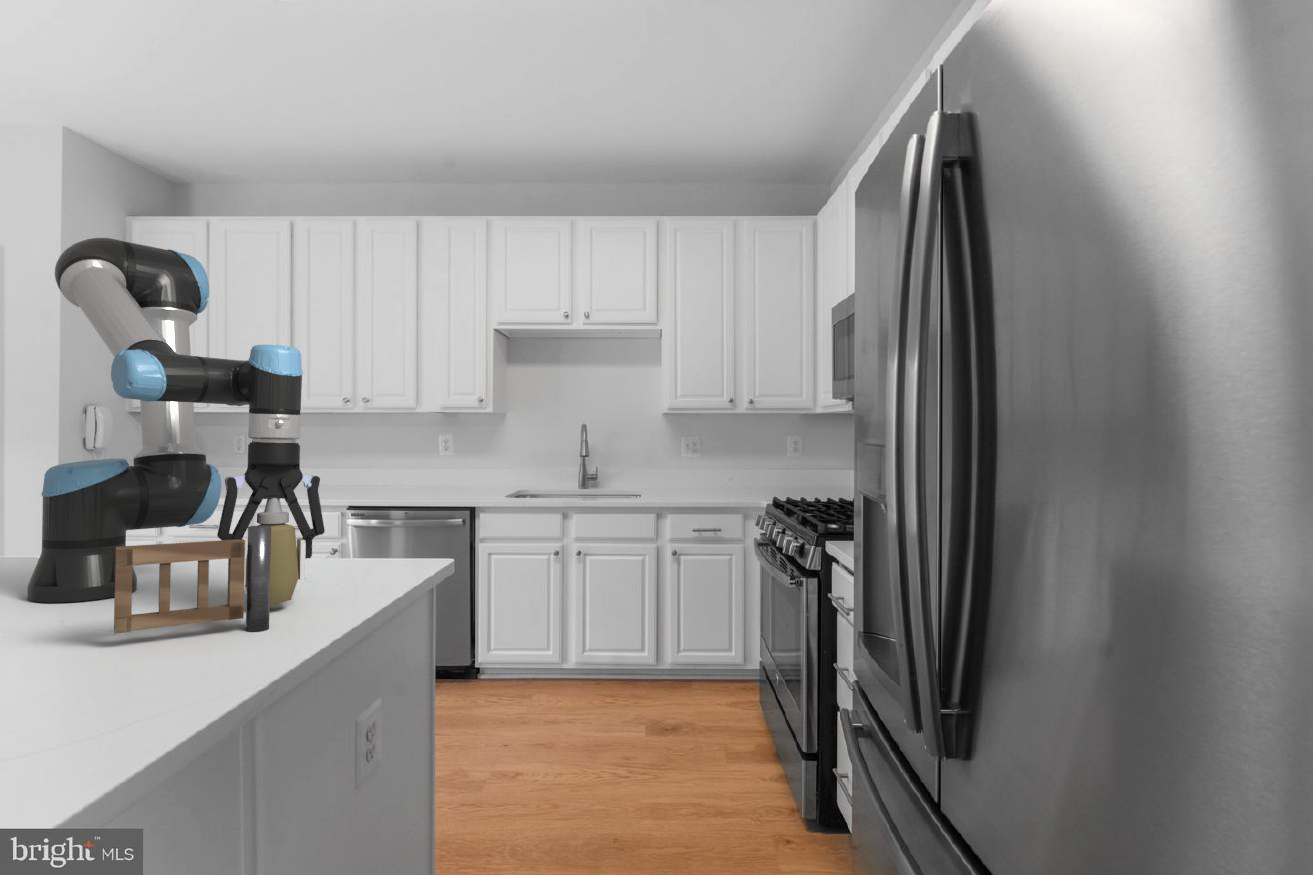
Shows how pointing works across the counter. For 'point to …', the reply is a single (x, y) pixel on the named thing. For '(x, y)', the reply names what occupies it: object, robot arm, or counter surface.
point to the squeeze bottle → (280, 552)
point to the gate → (165, 557)
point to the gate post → (258, 578)
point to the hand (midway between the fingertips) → (271, 580)
